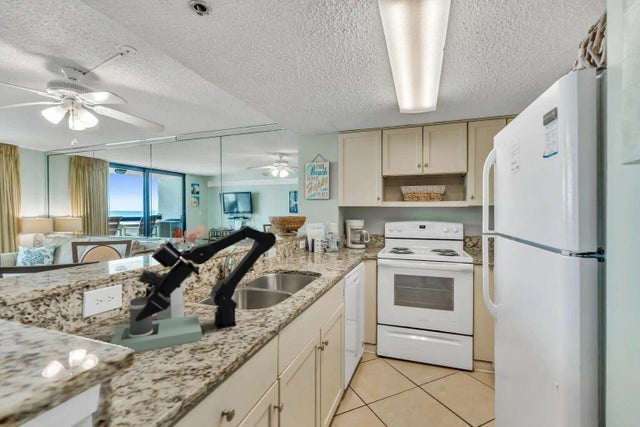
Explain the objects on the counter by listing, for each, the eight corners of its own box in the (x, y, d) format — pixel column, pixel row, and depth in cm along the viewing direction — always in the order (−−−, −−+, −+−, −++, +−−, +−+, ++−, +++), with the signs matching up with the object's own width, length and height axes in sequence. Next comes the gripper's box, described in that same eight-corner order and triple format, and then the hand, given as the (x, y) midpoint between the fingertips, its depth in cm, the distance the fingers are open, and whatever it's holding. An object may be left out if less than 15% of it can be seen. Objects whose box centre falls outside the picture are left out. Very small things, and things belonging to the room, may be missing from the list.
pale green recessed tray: (197, 322, 104) (197, 314, 104) (201, 340, 90) (201, 330, 90) (117, 335, 93) (118, 325, 93) (108, 357, 79) (108, 346, 79)
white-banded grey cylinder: (157, 337, 92) (157, 297, 92) (141, 346, 86) (141, 303, 86) (141, 335, 93) (141, 295, 93) (124, 343, 87) (124, 301, 87)
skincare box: (184, 317, 109) (184, 279, 109) (170, 323, 104) (170, 282, 104) (168, 314, 113) (169, 276, 113) (154, 319, 107) (155, 280, 107)
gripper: (155, 257, 99) (115, 292, 93) (158, 265, 84) (111, 309, 78) (179, 277, 104) (143, 312, 98) (187, 288, 88) (144, 332, 82)
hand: (136, 315), depth 89 cm, fingers open, 9 cm apart
